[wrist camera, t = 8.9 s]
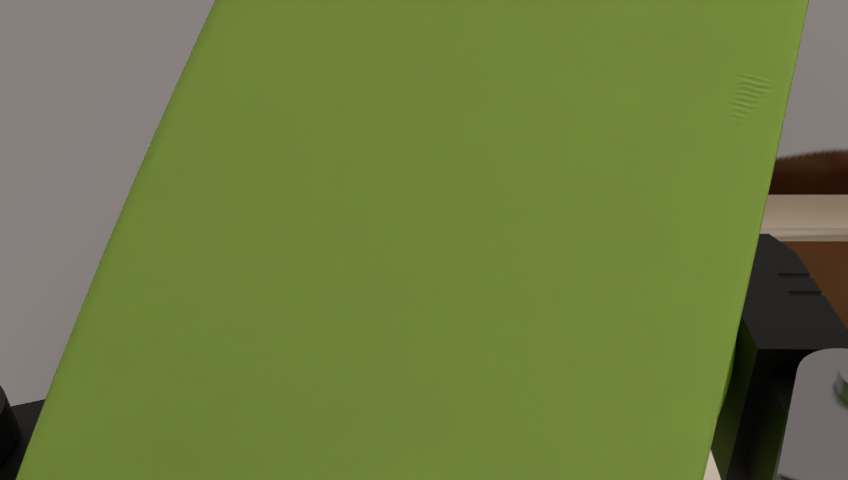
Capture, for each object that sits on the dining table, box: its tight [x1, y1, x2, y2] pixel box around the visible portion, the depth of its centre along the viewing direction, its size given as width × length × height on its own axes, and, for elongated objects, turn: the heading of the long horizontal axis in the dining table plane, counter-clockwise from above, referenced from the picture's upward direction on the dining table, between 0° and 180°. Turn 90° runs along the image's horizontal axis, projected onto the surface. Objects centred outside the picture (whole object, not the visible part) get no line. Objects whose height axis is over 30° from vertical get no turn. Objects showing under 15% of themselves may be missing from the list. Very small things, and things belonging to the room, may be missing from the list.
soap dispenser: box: [16, 0, 809, 480], centre depth 12 cm, size 6×7×20 cm
